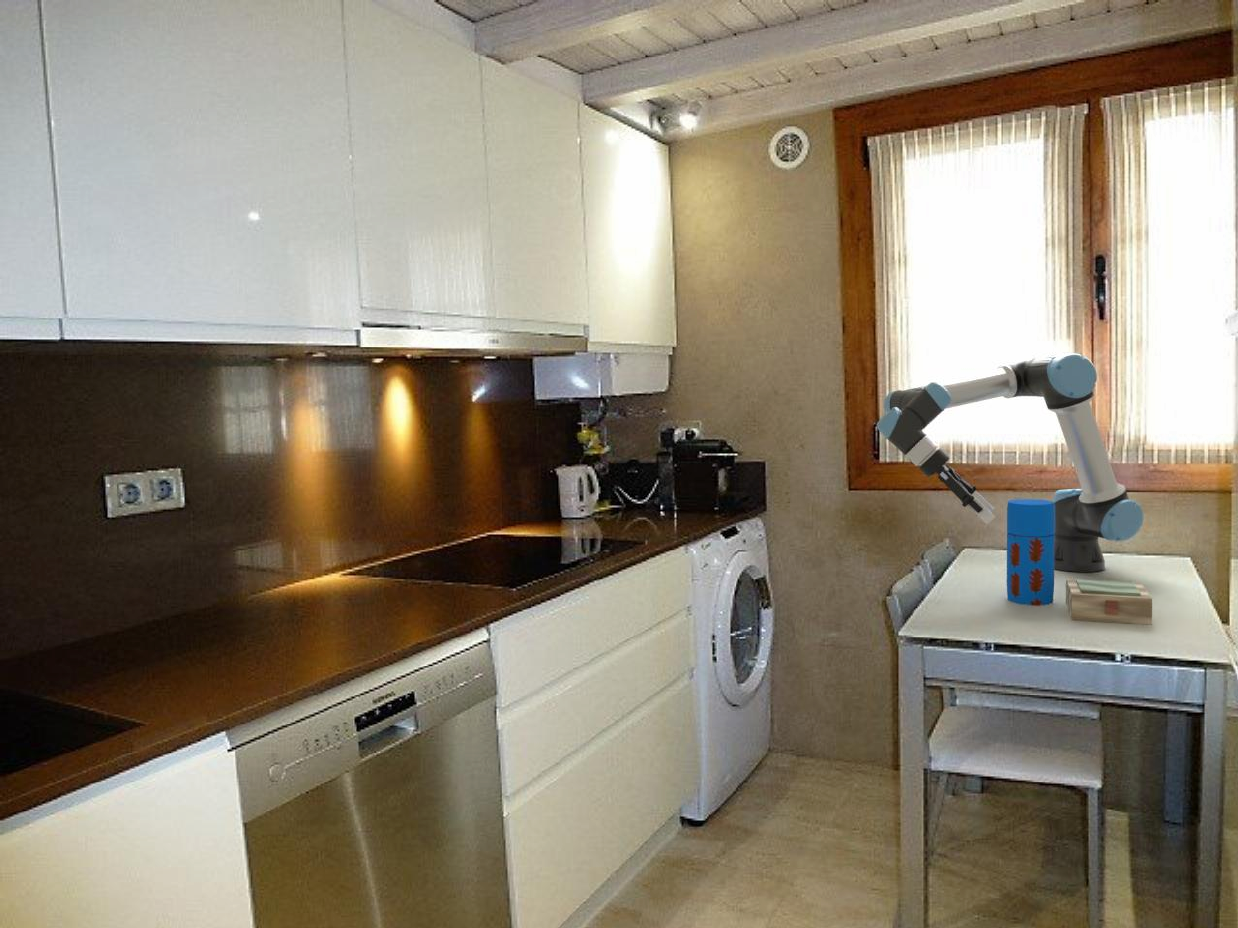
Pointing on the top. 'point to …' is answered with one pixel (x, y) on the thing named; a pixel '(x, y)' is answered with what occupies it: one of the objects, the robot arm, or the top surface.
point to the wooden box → (1108, 601)
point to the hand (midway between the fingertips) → (991, 516)
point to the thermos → (1030, 551)
